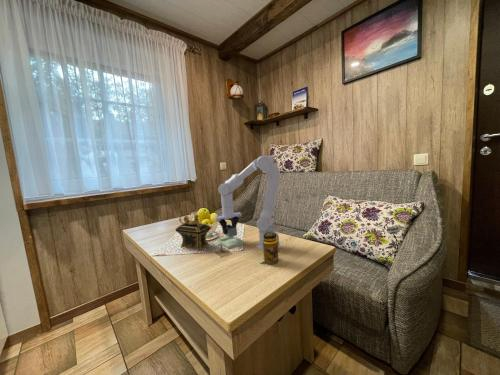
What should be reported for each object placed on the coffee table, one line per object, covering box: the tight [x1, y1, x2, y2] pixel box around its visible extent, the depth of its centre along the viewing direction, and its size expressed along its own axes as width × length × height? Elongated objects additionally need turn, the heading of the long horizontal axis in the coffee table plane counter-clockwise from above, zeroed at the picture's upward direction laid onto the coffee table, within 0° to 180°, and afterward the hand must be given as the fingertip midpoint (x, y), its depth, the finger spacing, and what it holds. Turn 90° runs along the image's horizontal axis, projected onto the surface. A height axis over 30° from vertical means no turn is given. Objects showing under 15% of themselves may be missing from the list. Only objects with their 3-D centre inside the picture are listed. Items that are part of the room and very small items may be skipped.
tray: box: [216, 236, 246, 250], centre depth 112 cm, size 13×10×2 cm
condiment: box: [259, 232, 283, 267], centre depth 89 cm, size 7×8×12 cm
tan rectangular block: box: [213, 243, 233, 259], centre depth 100 cm, size 9×6×4 cm, turn 33°
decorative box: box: [175, 208, 212, 251], centre depth 112 cm, size 20×10×20 cm, turn 61°
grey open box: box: [221, 223, 238, 237], centre depth 112 cm, size 9×4×4 cm, turn 33°
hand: (229, 232), depth 111 cm, fingers closed on grey open box, 4 cm apart
